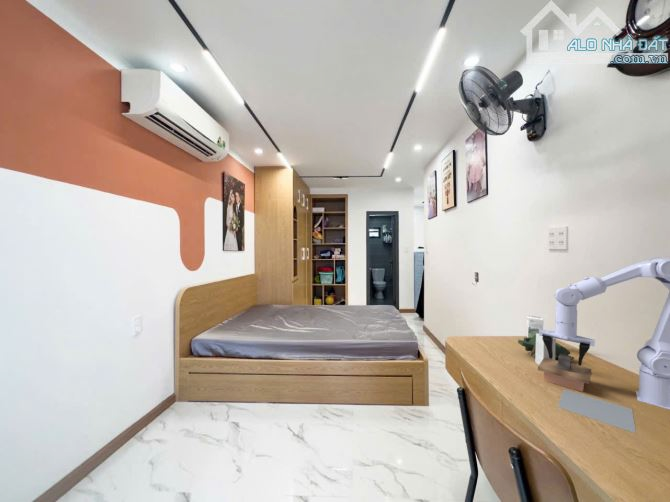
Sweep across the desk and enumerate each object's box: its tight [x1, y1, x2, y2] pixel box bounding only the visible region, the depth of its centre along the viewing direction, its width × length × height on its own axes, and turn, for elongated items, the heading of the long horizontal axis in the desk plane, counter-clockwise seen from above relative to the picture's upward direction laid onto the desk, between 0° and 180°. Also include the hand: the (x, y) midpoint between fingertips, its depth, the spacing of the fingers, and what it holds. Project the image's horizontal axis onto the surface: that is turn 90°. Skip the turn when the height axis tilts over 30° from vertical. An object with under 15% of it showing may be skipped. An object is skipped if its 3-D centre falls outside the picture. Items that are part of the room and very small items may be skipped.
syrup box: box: [526, 315, 544, 337], centre depth 128 cm, size 6×6×14 cm
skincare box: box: [534, 333, 557, 366], centre depth 107 cm, size 6×4×12 cm
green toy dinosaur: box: [517, 333, 575, 363], centre depth 115 cm, size 12×18×12 cm
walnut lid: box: [537, 354, 592, 385], centre depth 93 cm, size 13×13×5 cm
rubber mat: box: [557, 388, 637, 434], centre depth 77 cm, size 15×15×1 cm
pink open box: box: [543, 372, 586, 393], centre depth 93 cm, size 10×10×4 cm
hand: (564, 361), depth 93 cm, fingers open, 7 cm apart
